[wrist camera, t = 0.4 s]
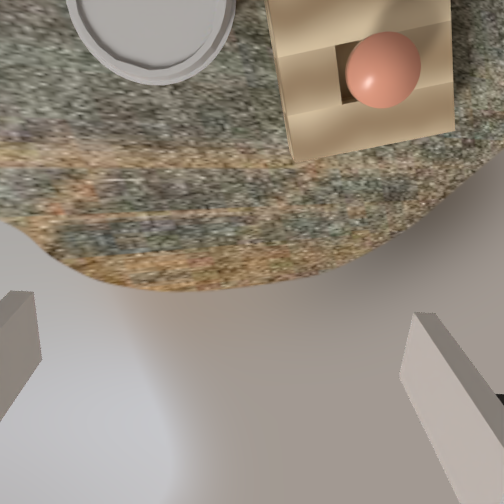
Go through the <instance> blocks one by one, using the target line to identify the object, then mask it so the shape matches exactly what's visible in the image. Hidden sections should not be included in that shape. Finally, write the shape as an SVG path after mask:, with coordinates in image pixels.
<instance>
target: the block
mask: <svg viewBox="0 0 504 504" xmlns="http://www.w3.org/2000/svg"><path fill="white" fill-rule="evenodd" d="M264 2H265V8H266V14H267V20H268V26H269V31H270V37H271V43H272V49H273V55H274V61H275V67H276V73H277V79H278V85H279V91H280V97H281V103H282V109H283V114H284V120H285V126H286V132H287V138H288V144H289V150H290V153H291V155H292V157H293V159H294V161H295V163H297V162H302V161H307V160H312V159H317V158H322V157H327V156H332V155H337V154H342V153H347V152H352V151H357V150H362V149H367V148H372V147H377V146H382V145H387V144H392V143H397V142H402V141H406V140H411V139H416V138H421V137H426V136H431V135H436V134H441V133H446V132H451V131H455V118H454V89H453V60H452V31H451V2H450V0H264ZM380 32H397V33H400V34H402V35H404V36H406V37H407V38H409V39H410V40H411V41H412V42H413V43H414V45H415V46H416V48H417V50H418V52H419V55H420V60H421V72H420V77H419V80H418V83H417V85H416V87H415V88H414V90H413V91H412V93H411V94H410V95H409V96H408V97H407V98H406V99H405V100H404V101H402V102H401V103H399V104H397V105H395V106H393V107H389V108H373V107H370V106H367V105H365V104H362V103H361V102H359V101H358V100H357V99H355V98H354V97H353V95H352V94H351V92H350V91H349V89H348V87H347V83H346V78H345V68H346V63H347V60H348V57H349V55H350V53H351V52H352V50H353V49H354V47H355V46H356V45H357V44H358V43H359V42H360V41H361V40H363V39H364V38H366V37H368V36H370V35H372V34H376V33H380Z"/></svg>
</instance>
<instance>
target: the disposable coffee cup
mask: <svg viewBox="0 0 504 504" xmlns="http://www.w3.org/2000/svg"><path fill="white" fill-rule="evenodd" d="M66 3H67V6H68V10H69V13H70V16H71V20H72V23H73V25H74V27H75V29H76V31H77V33H78V35H79V37H80V39H81V40H82V41H83V43H84V44H85V45H86V47H87V48H88V50H89V51H90V52H91V53H92V54H93V55H94V56H95V57H96V58H97V59H98V60H99V61H100V62H101V63H102V64H103V65H104V66H106V67H107V68H108V69H110V70H111V71H113V72H114V73H116V74H117V75H119V76H122V77H124V78H126V79H128V80H131V81H134V82H138V83H141V84H148V85H167V84H173V83H177V82H180V81H183V80H186V79H188V78H190V77H192V76H194V75H196V74H197V73H199V72H200V71H201V70H203V69H204V68H205V67H207V66H208V65H209V64H210V63H211V62H212V60H213V59H214V58H215V57H216V56H217V55H218V53H219V52H220V50H221V49H222V47H223V45H224V44H225V42H226V40H227V38H228V35H229V33H230V30H231V27H232V24H233V20H234V16H235V8H236V0H66Z"/></svg>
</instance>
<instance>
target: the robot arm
mask: <svg viewBox="0 0 504 504" xmlns="http://www.w3.org/2000/svg"><path fill="white" fill-rule="evenodd" d="M41 360H42V356H41V348H40V340H39V332H38V324H37V316H36V308H35V300H34V292H26V291H10V292H9V293H8V294H7V295H6V296H5V297H4V298H3V299H2V300H1V301H0V421H1V420H2V418H3V417H4V415H5V414H6V412H7V411H8V409H9V408H10V406H11V405H12V403H13V402H14V400H15V399H16V397H17V396H18V394H19V393H20V391H21V390H22V388H23V387H24V385H25V384H26V382H27V381H28V380H29V378H30V377H31V375H32V374H33V372H34V370H35V369H36V367H37V366H38V365H39V363H40V362H41ZM399 378H400V380H401V382H402V384H403V386H404V388H405V390H406V392H407V394H408V397H409V399H410V400H411V402H412V405H413V407H414V409H415V411H416V413H417V415H418V417H419V419H420V421H421V423H422V425H423V427H424V430H425V432H426V434H427V436H428V438H429V440H430V442H431V444H432V446H433V448H434V450H435V452H436V455H437V457H438V459H439V461H440V463H441V465H442V467H443V469H444V471H445V473H446V475H447V477H448V479H449V481H450V483H451V486H452V488H453V490H454V492H455V494H456V496H457V498H458V500H459V502H460V504H504V394H495V393H494V392H493V390H492V389H491V388H490V387H489V385H488V384H487V382H486V381H485V380H484V378H483V377H482V376H481V375H480V373H479V372H478V370H477V369H476V368H475V366H474V365H473V364H472V362H471V361H470V360H469V358H468V357H467V356H466V354H465V353H464V351H463V350H462V349H461V348H460V346H459V345H458V343H457V342H456V341H455V339H454V338H453V337H452V336H451V334H450V333H449V331H448V330H447V329H446V327H445V326H444V325H443V323H442V322H441V321H440V319H439V318H438V316H437V315H436V314H435V313H420V312H414V313H413V317H412V322H411V326H410V331H409V335H408V339H407V344H406V348H405V352H404V357H403V361H402V365H401V370H400V374H399Z"/></svg>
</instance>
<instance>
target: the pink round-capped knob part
mask: <svg viewBox="0 0 504 504" xmlns="http://www.w3.org/2000/svg"><path fill="white" fill-rule="evenodd" d="M420 72H421V60H420V55H419V52H418V50H417V48H416V46H415V45H414V43H413V42H412V41H411V40H410V39H409V38H407V37H406V36H404V35H402V34H400V33H397V32H380V33H376V34H372V35H370V36H368V37H366V38H364V39H363V40H361V41H360V42H359V43H358V44H357V45H356V46H355V47H354V49H353V50H352V52H351V53H350V55H349V57H348V60H347V63H346V68H345V78H346V83H347V87H348V89H349V91H350V92H351V94H352V95H353V97H354V98H355V99H357V100H358V101H359V102H361V103H362V104H365V105H367V106H370V107H373V108H389V107H393V106H395V105H397V104H399V103H401V102H402V101H404V100H405V99H406V98H407V97H408V96H409V95H410V94H411V93H412V91H413V90H414V88H415V87H416V85H417V83H418V80H419V77H420Z"/></svg>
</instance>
